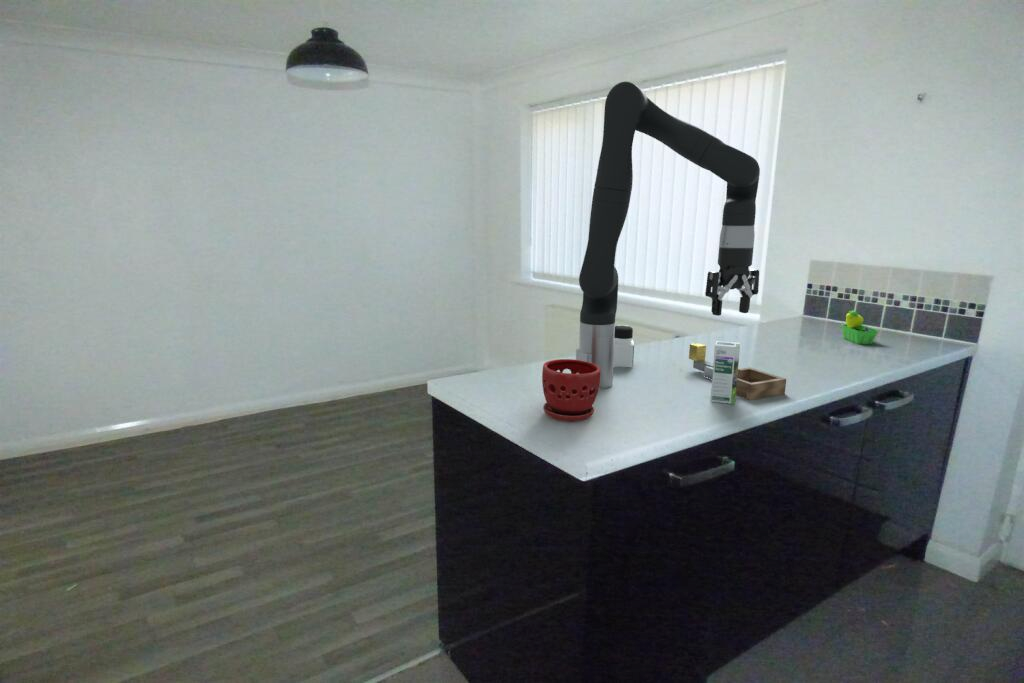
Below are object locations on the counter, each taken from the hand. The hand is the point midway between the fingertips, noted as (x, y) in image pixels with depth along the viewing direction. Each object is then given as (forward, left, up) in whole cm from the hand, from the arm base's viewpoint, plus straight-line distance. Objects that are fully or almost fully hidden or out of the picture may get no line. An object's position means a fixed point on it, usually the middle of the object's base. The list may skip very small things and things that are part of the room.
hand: (730, 313), depth 133 cm
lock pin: (+12, +19, -21) cm, 31 cm away
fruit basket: (+92, +30, -22) cm, 99 cm away
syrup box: (0, 0, -22) cm, 22 cm away
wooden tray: (+12, +3, -22) cm, 25 cm away
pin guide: (+12, +13, -22) cm, 28 cm away
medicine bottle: (-4, +38, -22) cm, 44 cm away
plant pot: (-40, +6, -22) cm, 46 cm away
